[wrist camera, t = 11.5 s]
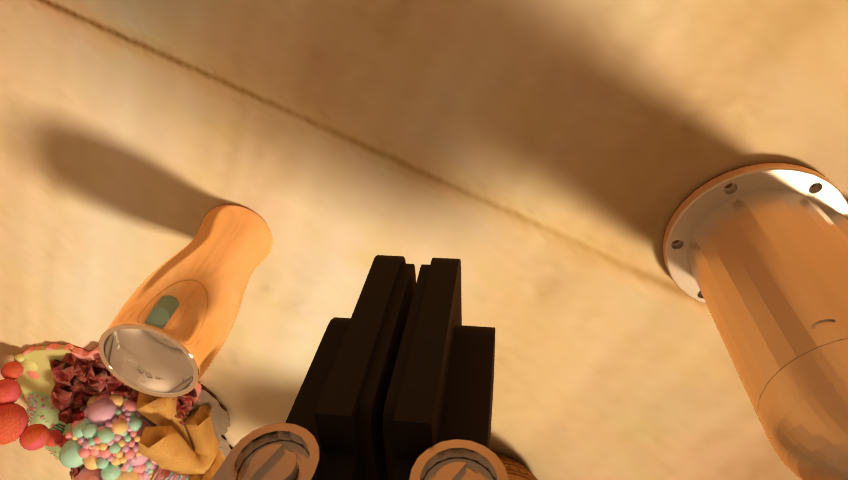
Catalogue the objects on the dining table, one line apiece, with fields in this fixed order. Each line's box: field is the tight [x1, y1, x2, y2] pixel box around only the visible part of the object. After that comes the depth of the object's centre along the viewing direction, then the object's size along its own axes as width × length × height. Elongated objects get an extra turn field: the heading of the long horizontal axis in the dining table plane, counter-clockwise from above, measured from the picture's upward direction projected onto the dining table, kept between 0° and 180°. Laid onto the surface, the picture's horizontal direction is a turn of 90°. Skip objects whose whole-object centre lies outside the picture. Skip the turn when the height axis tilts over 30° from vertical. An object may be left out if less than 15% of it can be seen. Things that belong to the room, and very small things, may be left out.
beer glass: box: [98, 205, 273, 397], centre depth 42 cm, size 7×7×15 cm
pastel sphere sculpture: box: [0, 343, 232, 480], centre depth 61 cm, size 25×24×9 cm
